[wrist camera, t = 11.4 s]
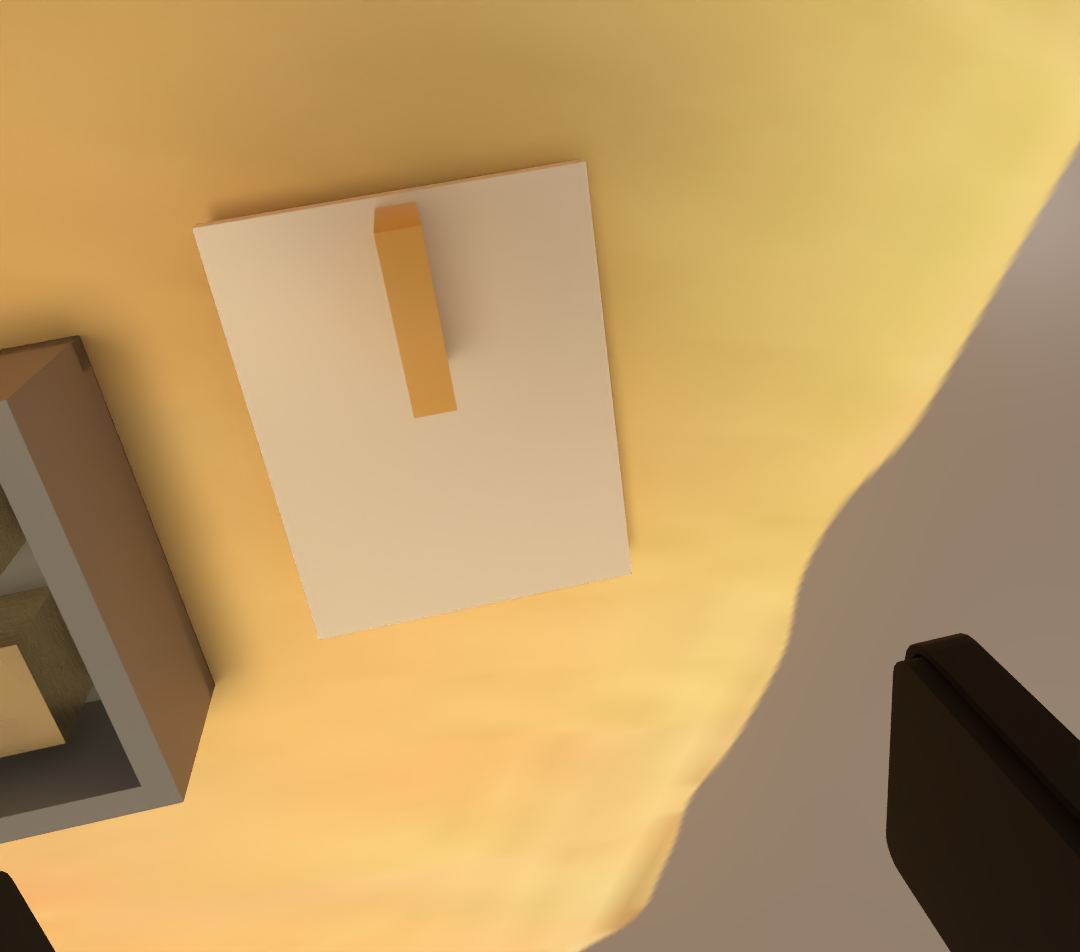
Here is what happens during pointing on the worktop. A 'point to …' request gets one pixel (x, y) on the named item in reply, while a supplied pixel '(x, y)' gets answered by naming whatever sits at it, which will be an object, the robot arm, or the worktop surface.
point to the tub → (94, 603)
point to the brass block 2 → (37, 673)
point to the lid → (429, 391)
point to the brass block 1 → (8, 533)
